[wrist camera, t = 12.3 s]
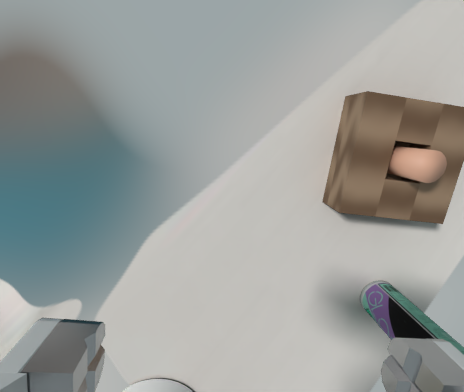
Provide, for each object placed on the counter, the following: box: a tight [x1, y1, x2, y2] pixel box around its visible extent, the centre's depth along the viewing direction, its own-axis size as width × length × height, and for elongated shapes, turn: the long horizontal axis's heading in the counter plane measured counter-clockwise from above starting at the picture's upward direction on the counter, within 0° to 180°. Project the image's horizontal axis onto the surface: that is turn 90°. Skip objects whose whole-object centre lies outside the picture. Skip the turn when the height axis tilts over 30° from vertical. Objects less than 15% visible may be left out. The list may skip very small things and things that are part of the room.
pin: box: [387, 146, 447, 183], centre depth 32 cm, size 4×4×7 cm
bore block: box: [323, 91, 464, 224], centre depth 35 cm, size 14×14×5 cm
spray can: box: [360, 281, 464, 355], centre depth 33 cm, size 6×6×20 cm
